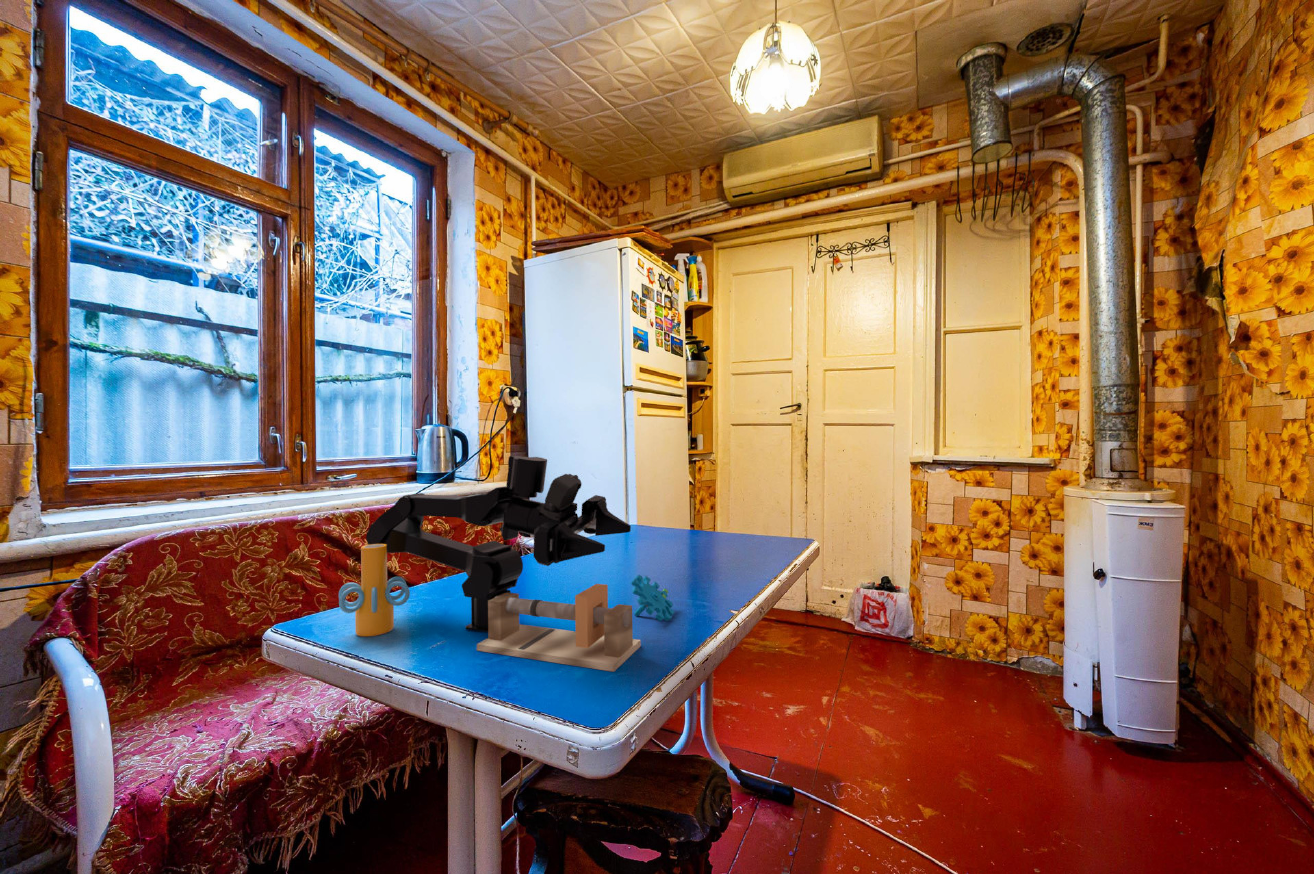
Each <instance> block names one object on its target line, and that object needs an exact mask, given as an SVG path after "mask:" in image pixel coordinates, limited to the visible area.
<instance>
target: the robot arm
mask: <svg viewBox="0 0 1314 874" xmlns="http://www.w3.org/2000/svg"><path fill="white" fill-rule="evenodd" d="M547 464H548V459H547V458H544V457H538V456H531V457H530V456H518V455H509V456H508V462H507V466H508V468H507V475H506V476H507V477H506V486H500V487H498V486H497V487H495V488H494V489H492V490H490V491H488V492H481V493H476V494H470V495H445V494H440V495H439V494H424V493H421V492H420V493H412V494H406V495H402V496H401V497H399V498H398V500H397V501H396V502H395V503H394V505H392V506H391V507H390V508H389V509H387V510H386V511H385V512H383V513H382V514H381V515H379V516H378V517H376V520H374V522H372V523H371V524H370V526H369V528H368V530H367V532H366V535H365V538H366V543H367V545H371V544H386V545H387V554H395V553H397V554H398V553H400V554H401V553H406V554H407V553H408V554H411V555H414V556H415V557H416V556H417V557H420V558H423V559H425V560H428V561H433V562H436V563H439V564H441V565H444V566H446V567H450V568H454V569H457V570H460V571H463V572H465V574H466V575H467V578H466V580H464V582H462V584H461V589H462V591H463V596H464V597H465V598H470V601H471V603H470V606H471V607H470V608H471V609H470V610H471V612H470V613H471V614H470V615H471V621H470V622H471V623H469V624H467V625H465V630H469V631H475V632H482V633H488V601H489V600H491V599H493V598H495V597H496V596H500V595H502V594H504V593H507V592H508V593H512V592H511V590H509V589H512V588H514V587H516V586H517V583H518V580H519V578H520V576H521V575H522V572H523V570H524V563H523V558H522V557H521V553H520V552H519V551H518V550H516V549H514V548H512V547H513V545H512V544H509V545H508V544H507V545H506V544H504V543H502V542H500V541H497V540H496V541H495V540H491V541H489V542H485V543H480V544H477V545H474V546H473V545H470V544H466V543H463V542H460V541H456V540H453V539H451V538H447V537H443V536H440V535H436V534H433V533H430V532H428V531H427V532H426V531H424V530H423V529H422V526H423V523H424V518H425V517H440V518H441V517H442V518H457V519H462V520H463V521H465V523H468V524H470V525H475V526H479V527H487V526H491V525H495V524H499V523H502V525H501V527H499V531H500V533H501V537H502V539H503V541H505V542H506V541H509V540H513V539H516V538H518V537H519V534H520V533H523V534H527V535H531V536H533V556H532V557H533V558H534V559H535V561H536V562H537V563H538V564H539V565H543V566H547V567H549V566H550V565H552V564H559V563H561V562H565V561H568V560H569V561H570V560H574V559H577V558H581V557H585V556H591V555H595V554H601V553H604V552H605V551H606V545H605V544H604V543H602V542H599V541H597V540H595V539H592V538H589V537H588V536H587V537H586V536H584V535H581V534H579V533H581V532H584V533H585V534H588V535H595V537H597V536H606V535H607V536H608V535H617V534H625V533H630V532H631V529H632V527H631V525H630V524H629V523H627V522H626V521H624V520H622V519H621V518H619V517H617V516H616V515H614V514H613V513H612V512H610V511H609V509H608V508H607V505H608V504H607V498H606V497H605V496H603V495H602V496H601V495H597V494H595V495H593V496H592V497H590V498H588V499H586V500H585V501H584V502H583V503H581V515H580V516H579V515H578V513H577V511H578V503H577V502H575V500H576V497H577V494H578V493H579V490H581V488H582V485H583V484H582V481H581V479H580V478H579V476H578V474H571V473H569V474H568V473H565V474H562V475H559V476H557V477H555V478H553V480H552V481H551V483H550V485H549V488H548V491H547V494H546V496H545V499H544V502H540V501H536V500H532V499H533V498H537V496H538V493H539V494H543V492H544V488H545V481H546V473H547V472H546V471H547ZM529 498H530V499H529Z"/></svg>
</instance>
